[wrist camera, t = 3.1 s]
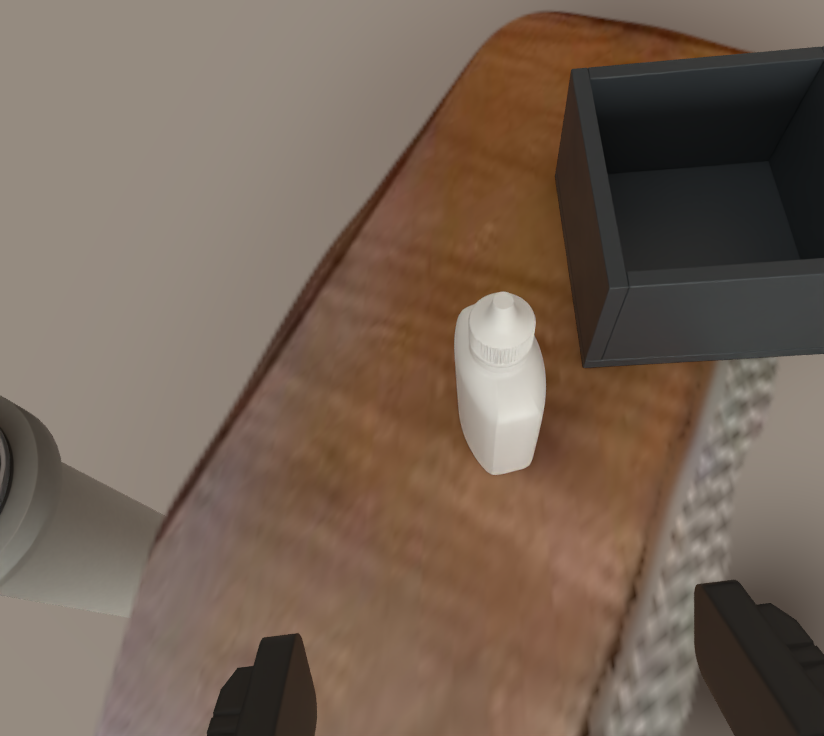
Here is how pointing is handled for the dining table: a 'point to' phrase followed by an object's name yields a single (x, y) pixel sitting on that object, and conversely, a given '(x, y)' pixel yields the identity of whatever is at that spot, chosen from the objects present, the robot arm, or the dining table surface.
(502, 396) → the eye dropper bottle
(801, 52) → the bin
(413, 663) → the dining table surface
